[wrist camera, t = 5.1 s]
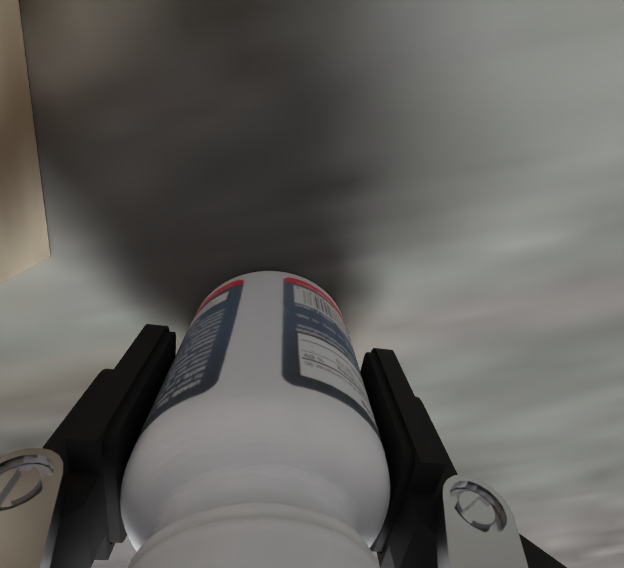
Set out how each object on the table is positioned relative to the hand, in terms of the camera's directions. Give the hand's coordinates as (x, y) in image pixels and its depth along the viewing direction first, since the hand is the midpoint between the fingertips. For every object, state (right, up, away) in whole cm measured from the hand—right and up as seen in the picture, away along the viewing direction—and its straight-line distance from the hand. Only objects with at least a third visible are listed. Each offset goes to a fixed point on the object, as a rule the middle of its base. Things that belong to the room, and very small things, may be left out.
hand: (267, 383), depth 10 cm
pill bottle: (0, +1, +2) cm, 3 cm away
